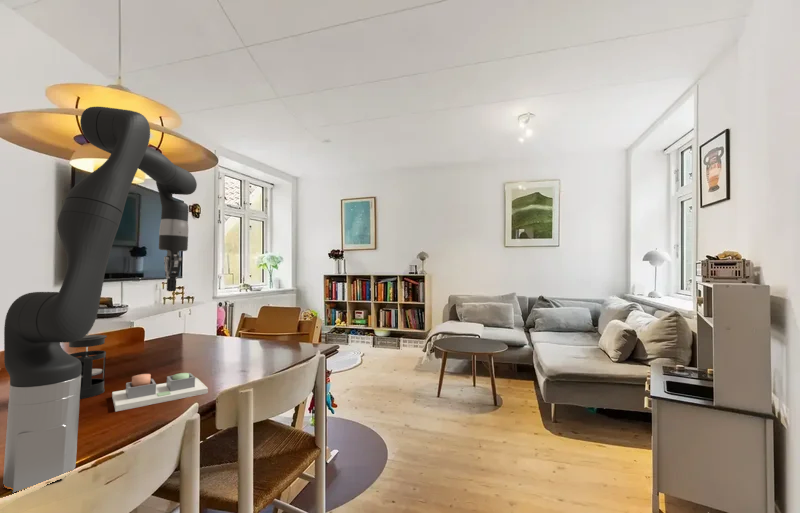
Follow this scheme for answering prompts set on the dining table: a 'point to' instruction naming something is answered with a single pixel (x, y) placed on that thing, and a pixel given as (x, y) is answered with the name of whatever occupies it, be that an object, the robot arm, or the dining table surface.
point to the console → (157, 392)
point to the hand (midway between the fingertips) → (171, 291)
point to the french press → (90, 365)
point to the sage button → (180, 376)
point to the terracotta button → (141, 380)
